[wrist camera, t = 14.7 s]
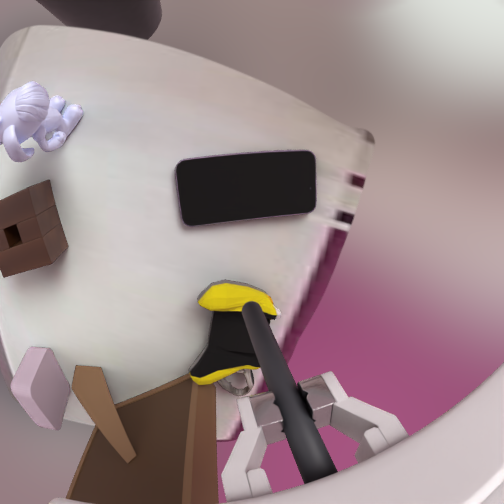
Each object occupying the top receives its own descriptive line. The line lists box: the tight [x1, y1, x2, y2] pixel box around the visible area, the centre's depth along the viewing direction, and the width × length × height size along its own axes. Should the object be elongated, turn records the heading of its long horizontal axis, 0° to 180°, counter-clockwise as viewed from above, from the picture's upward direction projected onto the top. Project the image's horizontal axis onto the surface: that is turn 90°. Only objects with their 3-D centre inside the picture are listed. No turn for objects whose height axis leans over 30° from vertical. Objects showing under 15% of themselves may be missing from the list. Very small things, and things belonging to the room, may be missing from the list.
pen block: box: [0, 180, 68, 278], centre depth 23 cm, size 8×8×5 cm
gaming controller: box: [189, 280, 282, 385], centre depth 33 cm, size 15×6×10 cm
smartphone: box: [175, 150, 317, 227], centre depth 29 cm, size 7×1×15 cm
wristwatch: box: [217, 369, 254, 396], centre depth 38 cm, size 4×6×5 cm
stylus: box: [242, 301, 338, 484], centre depth 11 cm, size 1×1×14 cm
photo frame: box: [66, 365, 219, 504], centre depth 25 cm, size 15×22×25 cm
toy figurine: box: [0, 81, 83, 162], centre depth 16 cm, size 7×6×12 cm
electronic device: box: [11, 347, 70, 430], centre depth 28 cm, size 10×5×10 cm, turn 178°
